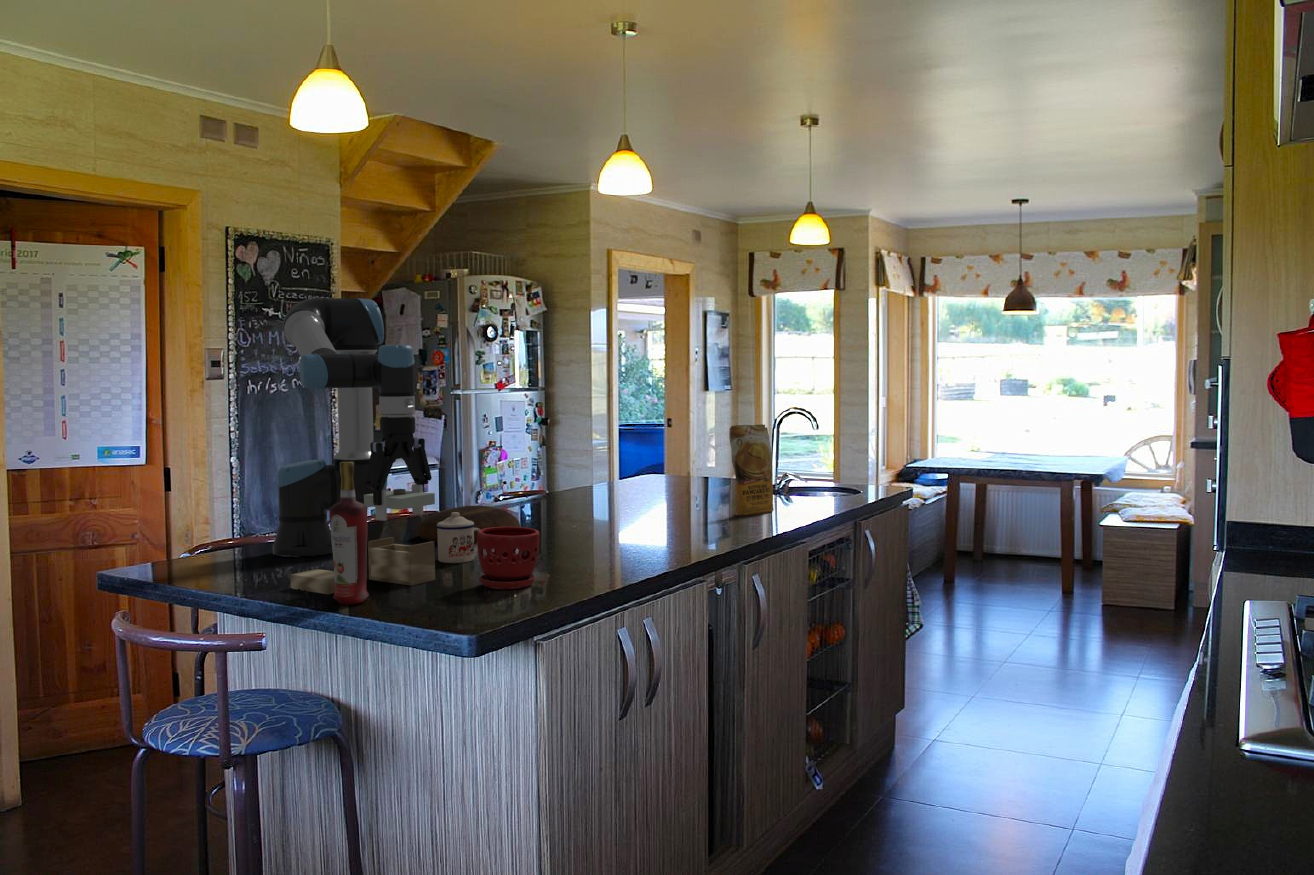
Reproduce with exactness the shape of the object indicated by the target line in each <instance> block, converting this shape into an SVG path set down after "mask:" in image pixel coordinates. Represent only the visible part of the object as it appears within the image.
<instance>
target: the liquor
mask: <svg viewBox="0 0 1314 875" xmlns="http://www.w3.org/2000/svg"><path fill="white" fill-rule="evenodd" d="M340 473H341V495H340V502H338V503H336V504H334V505H333V506H332V507H331V508H330V509H329V510H328V512H329V523H330V524H329V525H330V526H329V528H330V530H331V540H332V550H333V553H332V559H333V560H332V561H333V571H334V577H335V593H333V596H332V598H333V599H335V601H337V602H338V603H339V604H340V605H344V606H347V605H348V606H349V605H351V606H352V605H353V606H354V605H358V604H362V603H364V601H365V600H366V599H367V598H368V597H369V596H370V594H369V592H368V590H367V551H368V550H367V548H368V507H366V506H365V505H364V504H363V503H360V502H358V501H356V497H355V489H354V481H353V474H354V462H340Z"/></svg>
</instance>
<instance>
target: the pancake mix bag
mask: <svg viewBox="0 0 1314 875" xmlns="http://www.w3.org/2000/svg"><path fill="white" fill-rule="evenodd" d="M728 433H729V444H730V449H731V463H732V467H733V471H734V474H735V476H734V477H735V492H736V508H735V516H752V515H762V514H768V513H769V514H770V513H773V511H774V486H773V484H774V483H773V482H774V481H773V478H774V476H773V475H774V474H773V473H774V472H773V469H774V466H773V456H772V448H771V442H770V435H769V430H768V427H766V424H762V423H761V424H736V425H731V426H730V427H729V432H728Z"/></svg>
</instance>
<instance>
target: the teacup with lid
mask: <svg viewBox="0 0 1314 875" xmlns="http://www.w3.org/2000/svg"><path fill="white" fill-rule="evenodd" d="M451 516H452V517H448V518H446V519H445V520H444V521H441V522H439V523H438V524H437V526H436V527H437V533H438V542H437V560H438V561H439V562H440V563H445V564H462V563H468V562H471V561H474V560H475V549H478V545H477V543H476V544H474V531H477V532H478V531H479V530H480V529H479V528H474V526H475V525H474V523H473V521H470V520H467V519H465V518H464V517H461V516H459V513H458V512H453V513H451Z"/></svg>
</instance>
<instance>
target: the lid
mask: <svg viewBox="0 0 1314 875" xmlns="http://www.w3.org/2000/svg"><path fill="white" fill-rule="evenodd" d="M435 496H436V495H435V492H425V491H424V492H416V491H412V490H407V489H406V488H395V489H392V490H389V491H388V490H386V501H387V510H388V509H390V510H399V511H402V510H408V509H412V508H415V507H421V506H423V507H426V506H431V505H432V506H433V505H436V498H435ZM364 505H365V506H371V507H370V508H375V505H374V504H373V494H367V495H364Z"/></svg>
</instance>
